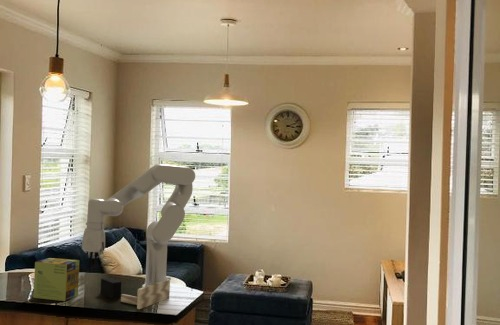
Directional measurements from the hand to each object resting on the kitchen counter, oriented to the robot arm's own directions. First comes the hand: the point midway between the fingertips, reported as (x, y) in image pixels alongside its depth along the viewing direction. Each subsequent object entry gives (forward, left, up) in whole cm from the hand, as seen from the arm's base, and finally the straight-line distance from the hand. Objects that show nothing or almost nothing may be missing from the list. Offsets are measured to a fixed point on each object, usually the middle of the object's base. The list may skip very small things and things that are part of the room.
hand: (92, 266), depth 232 cm
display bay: (-1, +28, -11) cm, 30 cm away
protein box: (+14, -6, -12) cm, 20 cm away
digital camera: (0, +12, -12) cm, 16 cm away
